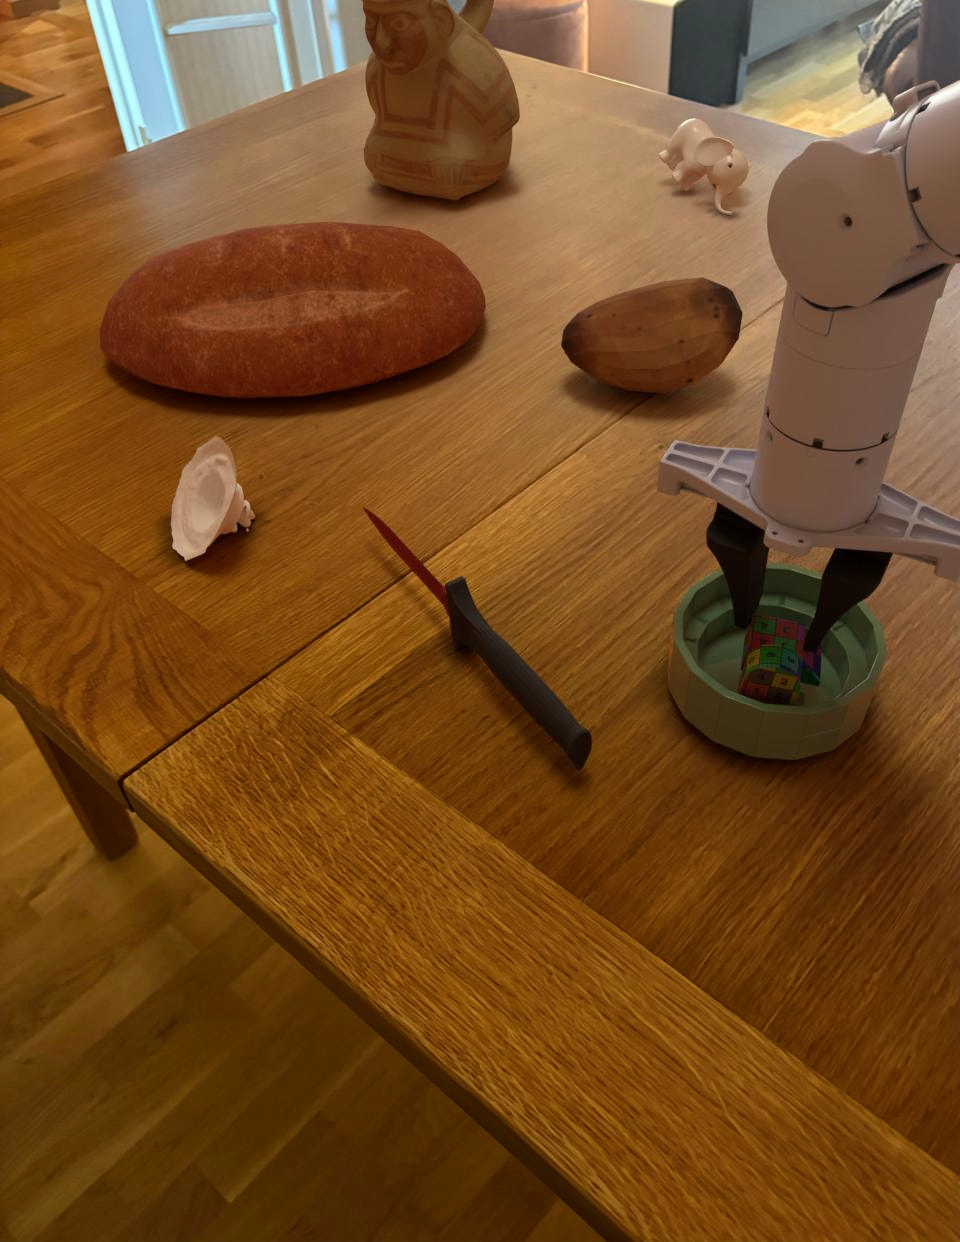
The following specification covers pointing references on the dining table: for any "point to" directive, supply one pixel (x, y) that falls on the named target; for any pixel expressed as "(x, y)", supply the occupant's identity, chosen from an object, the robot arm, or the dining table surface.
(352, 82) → the dining table surface
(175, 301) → the bread
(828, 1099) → the dining table surface
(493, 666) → the knife
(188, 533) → the seashell
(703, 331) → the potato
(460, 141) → the ceramic vessel
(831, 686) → the bowl
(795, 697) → the block
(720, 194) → the elephant figurine
